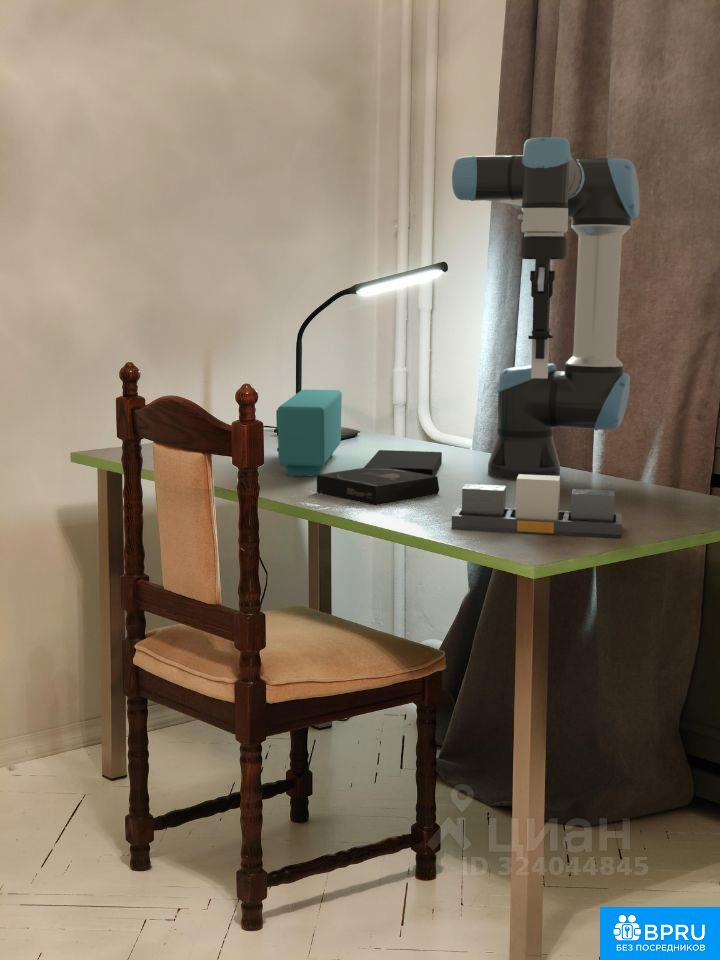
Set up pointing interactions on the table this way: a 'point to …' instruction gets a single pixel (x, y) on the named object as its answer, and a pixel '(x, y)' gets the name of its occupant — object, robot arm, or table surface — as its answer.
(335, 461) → the table surface
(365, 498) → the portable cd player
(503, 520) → the rack
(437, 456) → the external hard drive
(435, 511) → the table surface
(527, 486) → the beige rectangular block
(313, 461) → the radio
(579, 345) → the robot arm
